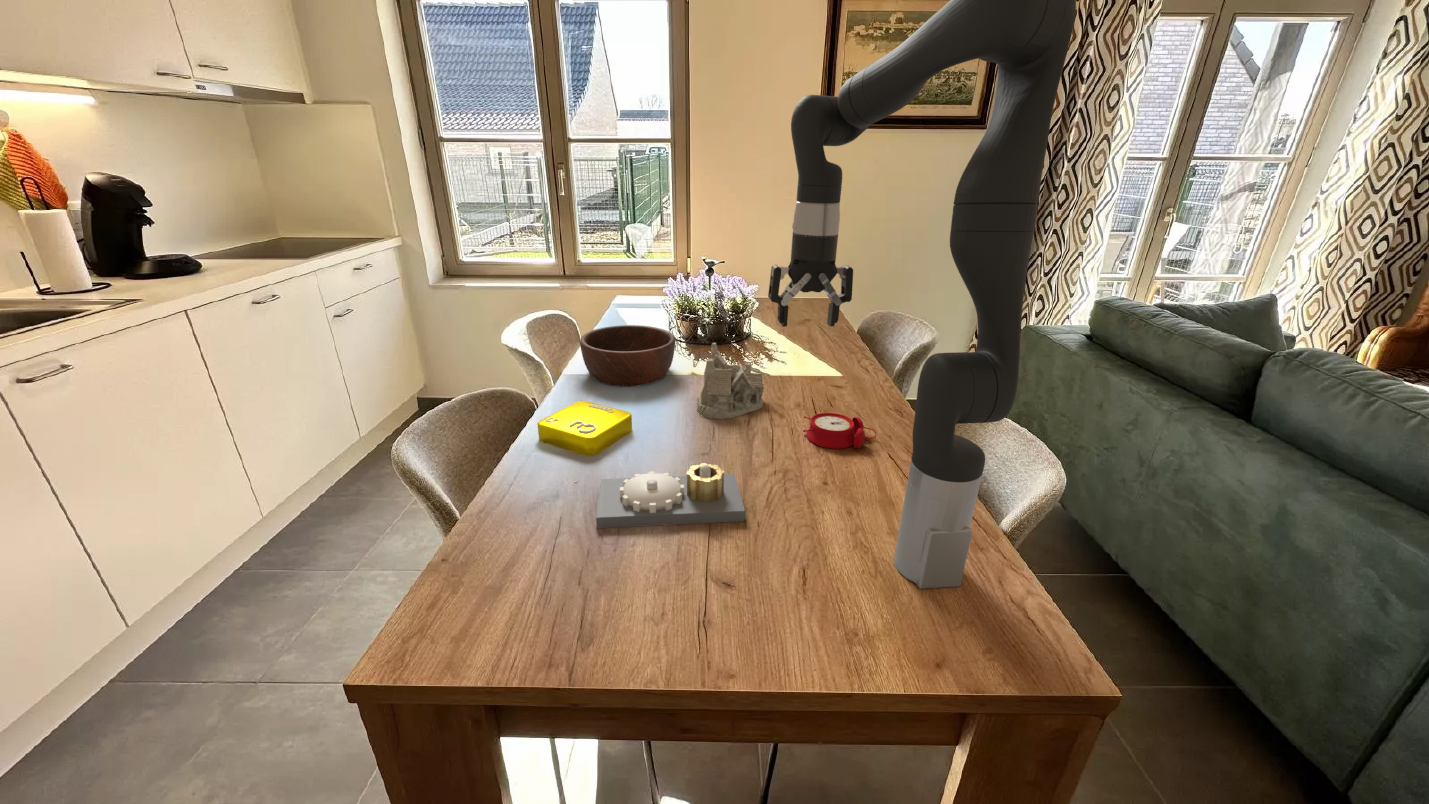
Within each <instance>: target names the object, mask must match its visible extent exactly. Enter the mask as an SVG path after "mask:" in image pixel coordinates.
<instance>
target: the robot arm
mask: <svg viewBox="0 0 1429 804" xmlns="http://www.w3.org/2000/svg"><path fill="white" fill-rule="evenodd" d="M1076 11H1077V0H949V1H948V2H947V3H945V4H944V5H943V6H942V7H941V8H939V10H938V11H937V12H935V13H934V14H932V16H930V18H928V20H926V21H925V22H924V23H923V24H922V25H921V26H919V28H917V30H915V31H914V32H913V33H912V34H911V35H910V36H908V37H907V38H906V39H905V40H904V41H903V42H902V43H901V44H899V45H898V46H897V47H895V48H894V49H892V50H891V51H890V52H888V53H887V54H885V55H884V56H882V57H881V58H879V59H877V60H876V61H874V62H872V63H871V64H869V65H867V66H866V67H864V68H863V69H861V70H860V71H858V72H856V73H855V74H854V75H852V76H850V77H849V78H848V79H847V80H846V81H844V83H842V86H841V87H840V89H839V90H838V91H839V92H838V96H834V95H831V96H830V95H820V94H808V95H805V96H803V97H802V98H801V99H800V100H799V101H798V102H797V103H796V105H795V107H794V109H793V112H792V115H791V122H790V133H791V139H792V144H793V151H794V156H795V164H796V168H797V175H798V178H797V191H796V204H795V209H794V214H793V222H792V225H791V226H792V235H791V236H792V237H791V238H792V239H791V248H790V249H791V253H790V262H789V265H788V266H778V265H777V264H773V265H772V266H771V269H770V278H769V285H768V295H767V296H768V299H769V300H770V301H771V302H772V303H776V304H777V321H778V323H779V324H780V325H781V327H783V328H784V327H785V328H787V327H788V320H789V319H788V317H789V305H788V304H789V303H790V302H791V301H792V299H793V298H794V297H796V296H797V295H798V294H799V292H802V293H810V292H813V293H822V292H823V291H824V293H825V294H826V295H827V297H828V299H829V300H830V303H828V308H827V309H828V310H827V319H826V320H827V321H826V322H827V323H826V324H827V325H828V326H829V327H835V324H837V323H838V321H839V318H840V317H839V316H840V306H841V305H842V304H844V303H850V302H851V301H852V298H853V281H854V268H852V267H851V266H850V265H848V264H845V265H842V266H837V265H836V261H837V249H838V241H839V232H840V222H841V212H840V211H841V210H840V209H841V208H840V206H841V196H842V195H841V194H842V187H843V186H842V185H843V169H842V167H841V166H840V165H839V164H836V163H835V162H834V163H833V162H831V161H828V160H827V157H826V153H825V148H824V147H841V146H844V145H847V144H849V143H851V142H854V141H855V140H856V139H858V137H860V136H861V135H862V134H863V133H864V132H865V131H867V129H868V128H869V127H870V126H871V125H874V124H875V123H877V122H879V121H880V120H883V119H886V118H887V117H889V116H891V115H892V114H895V113H897V112H898V111H900V110H901V109H903V108H905V107H906V106H907V105H908V104H910V103H911V102H912V101H913V100H914V99H915V98H916V97H917V95H918V94H920V92H921V90H922V89H923V88H924V86H925V85H926V84H927V83H928V82H929V80H930V79H931V78H933V77H934V76H935V75H937V74H939V73H940V72H942V71H944V70H947V69H948V68H952V67H954V66H957V65H959V64H960V65H961V64H963V63H966V62H969V61H973V60H978V59H979V60H980V61H984V62H985V63H986V62H987V63H993V64H996V65H997V83H996V90H995V97H994V105H993V110H992V114H991V117H990V120H989V123H988V126H987V128H986V130H985V132H984V135H983V137H982V138H981V141H980V142H979V144H978V146H977V147H976V149H975V150H974V152H973V154H972V156H971V158H970V159H969V161H968V163H967V164H966V167H965V168H964V170H963V172H962V174H961V177H960V179H959V181H958V184H957V185H956V189H955V194H954V199H953V200H954V201H953V206H952V216H951V224H950V234H949V248H950V252H951V253H950V254H951V256H952V260H953V261H954V264H955V267H956V268H957V271H958V273H959V275H960V277H961V279H962V282H963V283H964V285H965V288H966V289H967V291H968V292H969V295H970V297H971V299H972V301H973V305H974V307H975V312H976V318H977V341H976V349H975V351H968V352H966V351H964V352H961V351H960V352H938V353H933V354H932V355H930V356H929V357H928V358H926V360H925V361H924V363H923V365H922V368H921V371H920V374H919V378H918V383H917V384H918V385H917V394H916V400H915V401H916V402H915V411H914V412H915V413H914V418H913V419H914V420H913V427H912V453H911V460H910V466H909V472H908V477H907V482H906V488H905V492H904V494H905V495H904V500H903V506H902V511H901V518H900V522H899V527H898V533H897V540H896V546H895V552H894V558H893V563H894V565H895V568H896V570H897V571H898V572H899V573H900V574H901V575H902V577H905V578H906V579H907V580H909V581H911V582H913V583H914V584H916V586H917V587H918V588H919V589H921V590H922V589H937V588H950V587H951V588H952V587H954V588H955V587H960V586H961V584H962V581H963V576H964V570H965V567H966V563H967V559H968V555H969V550H970V547H971V541H972V536H973V534H974V533H973V530H972V529H971V524H972V520H973V516H974V511H975V506H976V503H977V498H978V494H979V490H980V487H981V481H982V478H983V473H984V468H985V464H986V455H985V452H984V450H983V448H981V447H980V446H979V445H978V444H976V443H975V442H974V441H972V440H970V439H968V438H966V437H963V436H962V435H961V436H960V435H958V434H956V433H955V432H956V431H955V430H956V425H957V424H958V425H959V424H960V425H961V424H986V423H987V424H988V423H996V422H1000V421H1002V420H1004V419H1005V418H1006V417H1007V416H1008V415H1009V413H1010V412H1011V411H1012V409H1013V407H1014V404H1015V402H1016V397H1017V392H1018V386H1019V373H1020V359H1021V358H1020V357H1021V354H1020V353H1021V337H1022V336H1021V332H1022V317H1023V308H1024V306H1023V305H1024V298H1025V297H1024V296H1025V289H1026V281H1027V275H1028V274H1027V273H1028V269H1029V268H1028V267H1029V262H1030V261H1029V260H1030V255H1031V251H1032V245H1033V239H1034V236H1035V235H1034V234H1035V229H1036V222H1037V215H1038V209H1039V205H1038V204H1039V203H1040V192H1041V184H1042V176H1043V170H1044V164H1045V159H1046V158H1045V157H1046V154H1047V153H1046V152H1047V146H1048V142H1049V136H1050V135H1049V133H1050V127H1051V122H1052V118H1053V117H1052V116H1053V111H1054V107H1055V101H1056V98H1057V94H1058V91H1059V90H1058V89H1059V85H1060V82H1061V77H1062V75H1063V70H1064V66H1065V63H1066V58H1067V55H1068V51H1069V47H1070V44H1071V41H1072V34H1073V30H1074V26H1075V19H1076V15H1077V13H1076ZM837 274H838V278H839V279H840V281H841V282H840V294H838V293H837V291H836V289H835V288H834V286H833V285H832V284H831V283H832V281H833V279H834V278H835V277H836V276H837ZM786 275H788V276H789V278H790V281H789V282H788V284H787V285H786V287H785V288H784V290H783V291H782V293H780V285H781V280H783V279H784V278H785V276H786Z"/></svg>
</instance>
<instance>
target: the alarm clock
mask: <svg viewBox="0 0 1429 804" xmlns="http://www.w3.org/2000/svg"><path fill="white" fill-rule="evenodd" d="M803 418H804V419H808V420H810V421H809V422H810V423H809V427H808V429H806V430H805V429H803V433H805V434H804V437H806V439H807V440H808V441H810V443H812V444H813V445H816V446H818V447H821V448H825V449H833V450H836V449H837V450H838V449H839V450H840V449H846V448H849V447H852V446H853V448H854V449H860V448H861V447H862V446H863V445H864V441H867V440H872V439H876V437H877V431H875V429H873V428H870V427H866V426H865V425H864V423H863V420H862V419H861V418H860V417H856V416H854V417H852V419H851V418H850V417H848V416H845V415H843V414H841V413H840V414H839V413H833V412H832V413H831V412H822V413H817V414H815V415H813V416H812V417H807V416H803ZM864 429H866V430H870V431H873V432H874V436H873V437H866V433H865V430H864Z"/></svg>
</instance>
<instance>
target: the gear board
mask: <svg viewBox="0 0 1429 804" xmlns="http://www.w3.org/2000/svg"><path fill="white" fill-rule="evenodd" d="M710 476H711V469H710V467H709V466H708V465H702V466H701V468H700V478H710ZM737 481H738V480H737V478H736V475H735V473H729V474H728V473H724V493H721V498H720V499H719V500H716V499H715V500H714V501H710V502H707V503H704V501H698V500H696V501H694V500H692V499H691V497H690V495H687V475H674V476H672V475H670V473H668V472H663V473H659V472H658V473H657V472H655V471H648V472H647V473H644V474H640V473H638V472H637V473H636V474H633V477H621V478H620V477H619V478H601V479H600V483H599V489H598V490H599V492H598V498H597V506H596V517H595V518H596V519H595V520H596V529H606V528H629V527H649V526H651V527H652V526H668V525H671V526H672V525H673V526H674V525H688V524H690V525H691V524H709V523H710V524H713V523H732V522H735V523H736V522H745V518H746V517H745V514H746V509H745V507H744V503H743V499H742V496H741V493H740V489H739V485H738V482H737Z"/></svg>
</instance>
